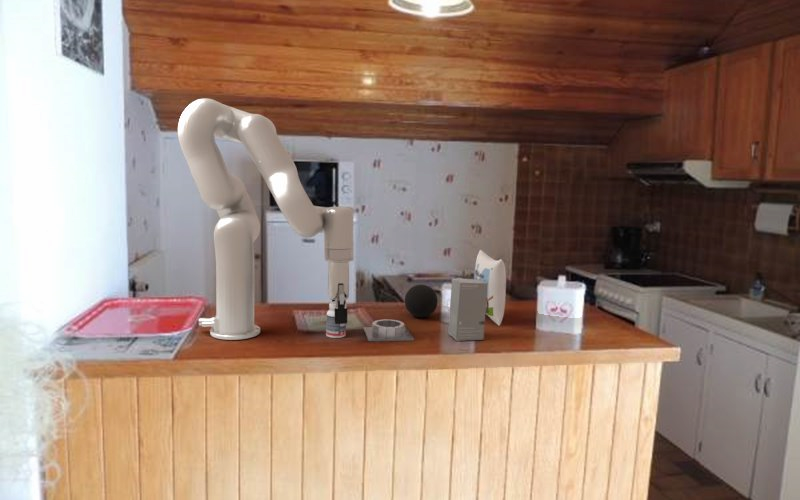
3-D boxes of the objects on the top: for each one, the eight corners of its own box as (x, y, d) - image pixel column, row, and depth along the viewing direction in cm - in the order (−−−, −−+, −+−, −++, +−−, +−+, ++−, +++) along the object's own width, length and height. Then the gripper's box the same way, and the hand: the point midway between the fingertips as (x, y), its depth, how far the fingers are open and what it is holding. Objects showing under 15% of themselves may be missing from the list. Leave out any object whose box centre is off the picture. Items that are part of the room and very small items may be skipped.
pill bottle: (342, 339, 148) (343, 306, 147) (323, 337, 149) (324, 304, 148) (348, 333, 153) (349, 301, 152) (329, 331, 154) (330, 299, 153)
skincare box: (456, 341, 150) (459, 282, 148) (446, 333, 157) (449, 277, 154) (485, 340, 152) (489, 282, 150) (475, 332, 159) (478, 277, 157)
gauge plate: (368, 341, 147) (368, 329, 147) (363, 329, 158) (363, 318, 157) (413, 340, 149) (414, 329, 149) (405, 328, 160) (406, 318, 160)
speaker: (439, 314, 177) (441, 283, 176) (433, 322, 167) (434, 289, 166) (408, 311, 179) (409, 280, 178) (400, 319, 170) (401, 286, 168)
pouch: (491, 310, 186) (495, 249, 183) (509, 326, 167) (514, 259, 164) (467, 310, 185) (471, 249, 182) (483, 326, 166) (487, 258, 163)
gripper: (322, 250, 155) (323, 310, 158) (326, 260, 139) (327, 328, 141) (350, 249, 157) (350, 309, 159) (357, 259, 140) (357, 326, 143)
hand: (339, 318), depth 150 cm, fingers open, 9 cm apart
